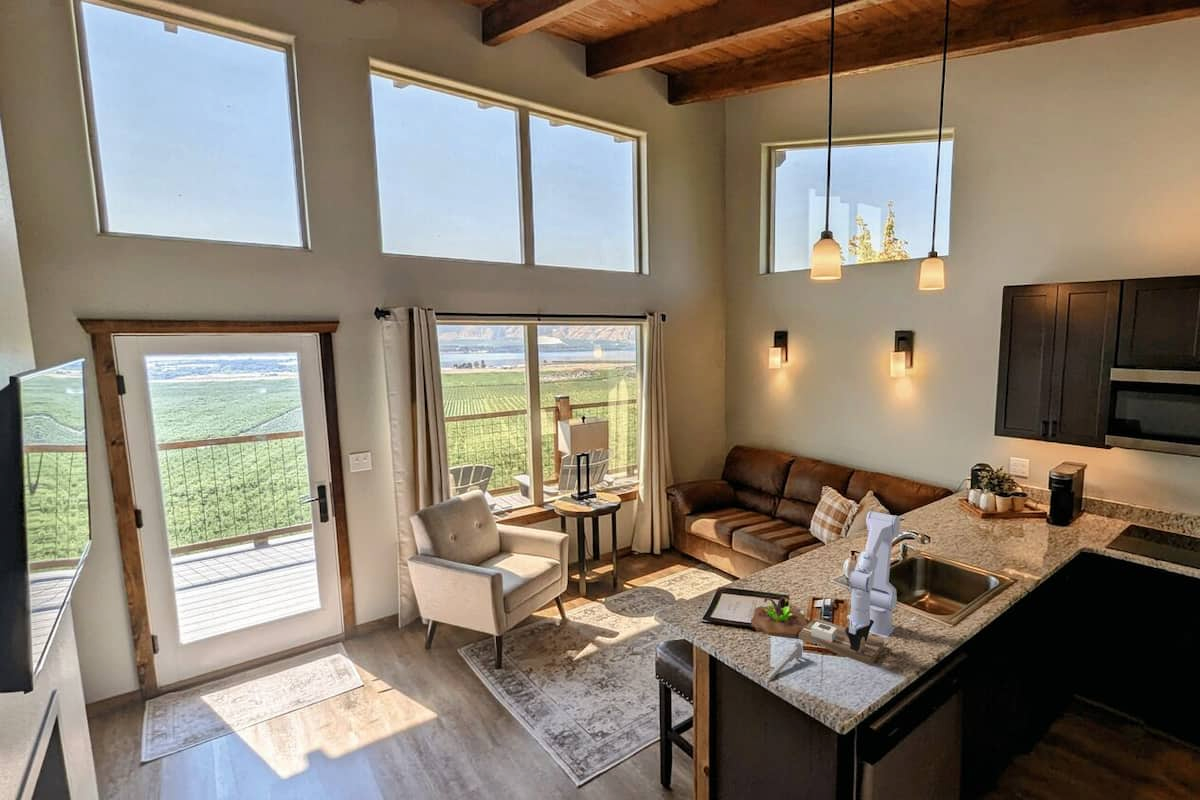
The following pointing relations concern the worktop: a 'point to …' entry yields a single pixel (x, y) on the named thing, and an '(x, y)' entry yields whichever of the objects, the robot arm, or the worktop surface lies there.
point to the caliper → (786, 661)
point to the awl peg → (862, 645)
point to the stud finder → (824, 631)
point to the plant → (778, 620)
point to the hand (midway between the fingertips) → (859, 645)
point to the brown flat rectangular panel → (844, 643)
